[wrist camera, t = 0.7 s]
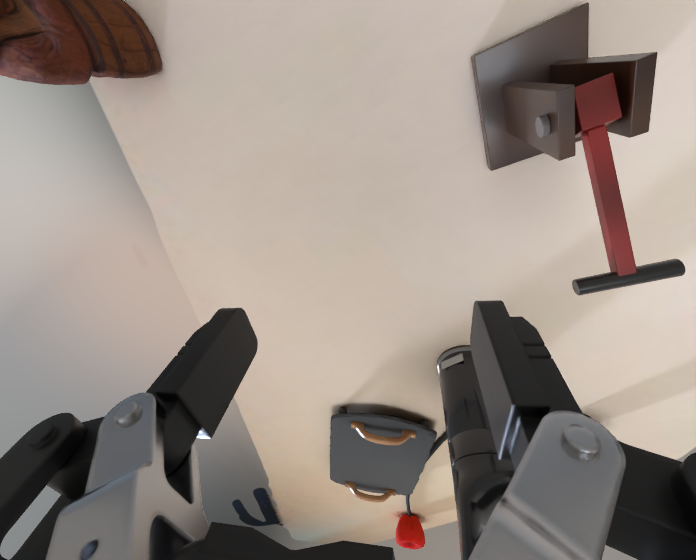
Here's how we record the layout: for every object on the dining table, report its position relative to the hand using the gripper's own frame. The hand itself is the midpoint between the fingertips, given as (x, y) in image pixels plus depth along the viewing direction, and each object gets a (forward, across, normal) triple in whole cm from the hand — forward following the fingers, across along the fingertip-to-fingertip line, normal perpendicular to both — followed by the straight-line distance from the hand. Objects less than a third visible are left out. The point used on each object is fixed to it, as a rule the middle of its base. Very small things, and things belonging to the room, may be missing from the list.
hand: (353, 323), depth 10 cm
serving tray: (+30, -8, -69) cm, 76 cm away
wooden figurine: (+29, -28, +16) cm, 43 cm away
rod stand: (+29, +14, +3) cm, 33 cm away
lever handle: (+16, +16, -2) cm, 23 cm away
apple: (+31, -1, -112) cm, 116 cm away
